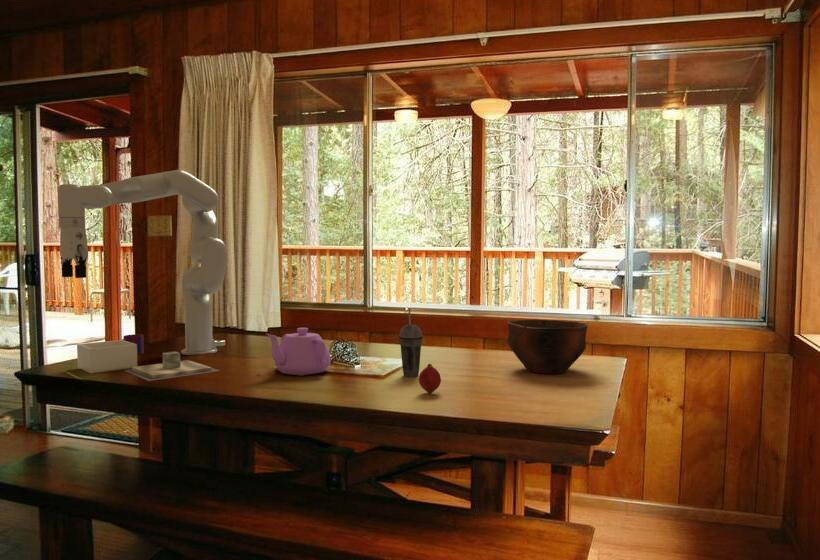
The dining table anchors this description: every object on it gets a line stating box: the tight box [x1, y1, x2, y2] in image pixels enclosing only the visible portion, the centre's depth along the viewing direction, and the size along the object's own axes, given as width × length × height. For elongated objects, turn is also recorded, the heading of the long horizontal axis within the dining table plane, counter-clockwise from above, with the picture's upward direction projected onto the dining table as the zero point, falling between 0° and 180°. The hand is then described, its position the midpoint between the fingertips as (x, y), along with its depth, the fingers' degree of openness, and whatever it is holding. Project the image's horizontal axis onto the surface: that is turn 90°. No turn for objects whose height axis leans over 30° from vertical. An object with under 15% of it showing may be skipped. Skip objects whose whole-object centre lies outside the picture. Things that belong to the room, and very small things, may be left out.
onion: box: [418, 363, 442, 394], centre depth 170 cm, size 6×6×8 cm
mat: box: [122, 367, 221, 382], centre depth 202 cm, size 22×22×1 cm
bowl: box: [506, 319, 589, 374], centre depth 201 cm, size 25×25×15 cm
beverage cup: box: [398, 309, 424, 378], centre depth 194 cm, size 7×7×20 cm
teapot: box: [266, 327, 332, 377], centre depth 199 cm, size 22×22×14 cm
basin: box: [76, 339, 138, 374], centre depth 208 cm, size 14×14×8 cm
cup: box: [121, 333, 145, 356], centre depth 236 cm, size 7×10×7 cm
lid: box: [131, 351, 213, 379], centre depth 201 cm, size 18×18×6 cm
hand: (74, 277), depth 206 cm, fingers open, 9 cm apart
